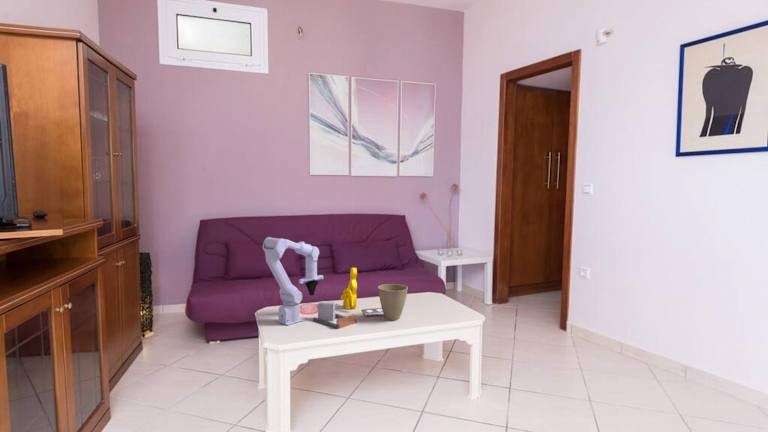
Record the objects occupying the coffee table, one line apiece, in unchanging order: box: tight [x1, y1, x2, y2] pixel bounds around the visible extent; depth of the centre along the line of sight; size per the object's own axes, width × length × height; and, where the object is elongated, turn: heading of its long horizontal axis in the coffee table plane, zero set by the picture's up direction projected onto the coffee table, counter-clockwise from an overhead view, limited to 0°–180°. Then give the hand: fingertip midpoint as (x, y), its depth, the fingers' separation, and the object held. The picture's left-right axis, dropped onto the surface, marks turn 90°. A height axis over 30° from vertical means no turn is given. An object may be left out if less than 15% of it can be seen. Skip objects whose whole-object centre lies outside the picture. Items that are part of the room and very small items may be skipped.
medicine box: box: [317, 300, 336, 322], centre depth 218 cm, size 8×4×9 cm, turn 84°
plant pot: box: [377, 283, 409, 321], centre depth 220 cm, size 15×15×16 cm
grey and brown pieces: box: [312, 313, 358, 330], centre depth 214 cm, size 12×18×4 cm
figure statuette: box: [340, 267, 358, 310], centre depth 238 cm, size 18×8×22 cm, turn 26°
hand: (311, 295), depth 226 cm, fingers closed
